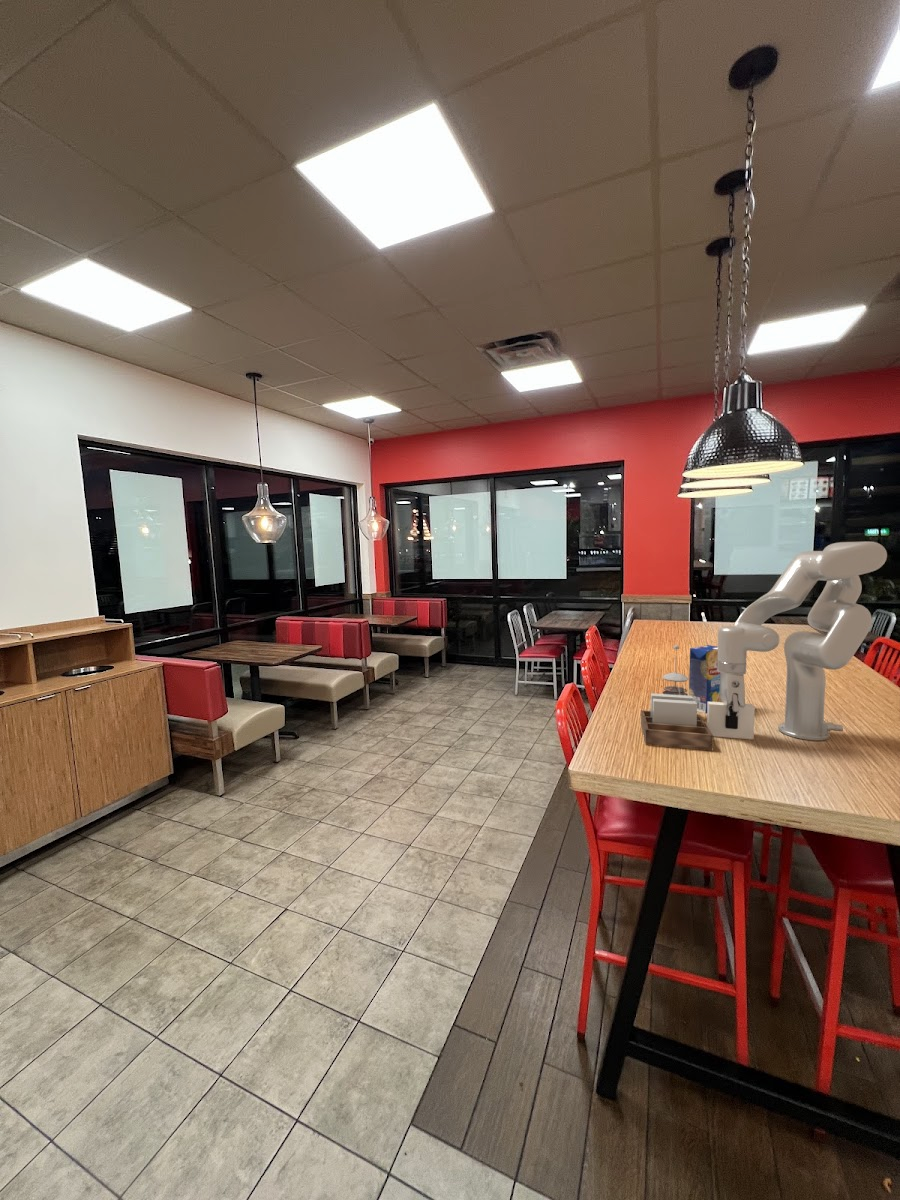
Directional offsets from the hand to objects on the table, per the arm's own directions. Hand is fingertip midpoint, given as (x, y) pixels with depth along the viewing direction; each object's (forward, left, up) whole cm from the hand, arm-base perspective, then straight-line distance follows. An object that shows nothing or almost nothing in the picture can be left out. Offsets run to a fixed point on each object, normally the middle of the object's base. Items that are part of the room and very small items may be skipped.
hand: (729, 725), depth 145 cm
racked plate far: (+16, -2, -3) cm, 17 cm away
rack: (+16, +4, -3) cm, 17 cm away
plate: (0, 0, -3) cm, 3 cm away
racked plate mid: (+16, +4, -3) cm, 17 cm away
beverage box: (+1, -27, -3) cm, 27 cm away
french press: (+13, -14, -3) cm, 19 cm away
